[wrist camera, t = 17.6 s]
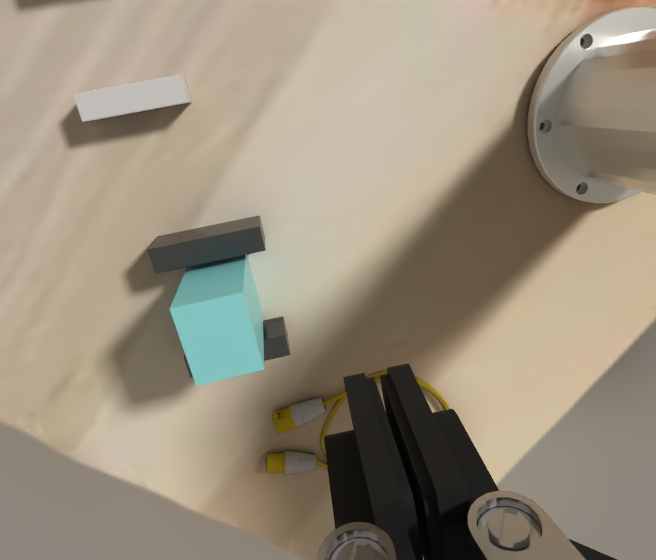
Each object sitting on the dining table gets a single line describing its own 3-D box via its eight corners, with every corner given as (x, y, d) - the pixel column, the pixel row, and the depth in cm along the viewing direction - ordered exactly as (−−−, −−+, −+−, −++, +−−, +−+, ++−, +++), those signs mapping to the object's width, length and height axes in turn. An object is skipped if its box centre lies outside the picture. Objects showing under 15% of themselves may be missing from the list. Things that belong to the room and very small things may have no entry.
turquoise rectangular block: (246, 249, 33) (242, 292, 26) (262, 312, 35) (264, 369, 27) (189, 262, 33) (169, 308, 25) (209, 325, 35) (196, 385, 27)
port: (259, 215, 32) (259, 226, 29) (287, 335, 36) (290, 354, 33) (157, 236, 32) (147, 249, 29) (195, 355, 35) (190, 377, 32)
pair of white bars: (145, -71, 26) (137, -84, 24) (191, 102, 29) (187, 102, 27) (34, -53, 25) (16, -65, 24) (93, 120, 29) (82, 121, 27)
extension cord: (306, 335, 36) (308, 347, 35) (472, 392, 41) (482, 406, 39) (248, 456, 40) (248, 473, 38) (408, 497, 44) (414, 515, 42)
